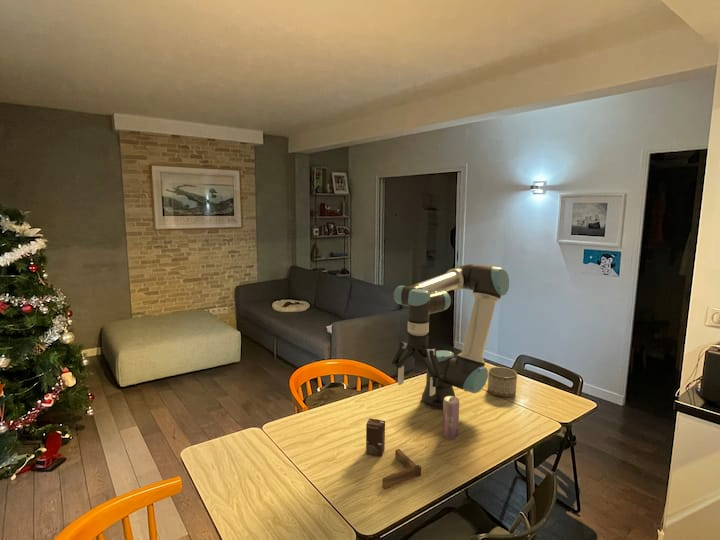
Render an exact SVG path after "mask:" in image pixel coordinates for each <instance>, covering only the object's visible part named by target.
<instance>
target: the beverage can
mask: <svg viewBox="0 0 720 540" xmlns="http://www.w3.org/2000/svg"><path fill="white" fill-rule="evenodd" d="M459 420H460V398H458V397H454V396H446V397H445V398H444V401H443V409H442V426H441V427H442V428H441V429H442V430H441V433H442V436H443V437H444V438H445V439H447V440H456V439H457V438H458V436H459V423H460V421H459Z"/></svg>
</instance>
